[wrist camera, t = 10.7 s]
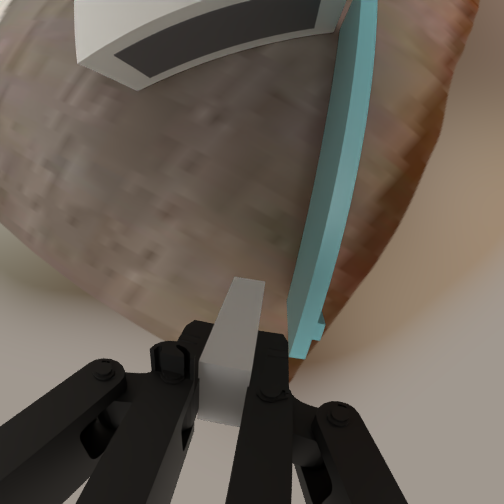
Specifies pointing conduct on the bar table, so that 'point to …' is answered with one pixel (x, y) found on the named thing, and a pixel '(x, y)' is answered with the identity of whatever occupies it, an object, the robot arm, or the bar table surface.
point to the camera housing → (186, 32)
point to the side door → (333, 176)
